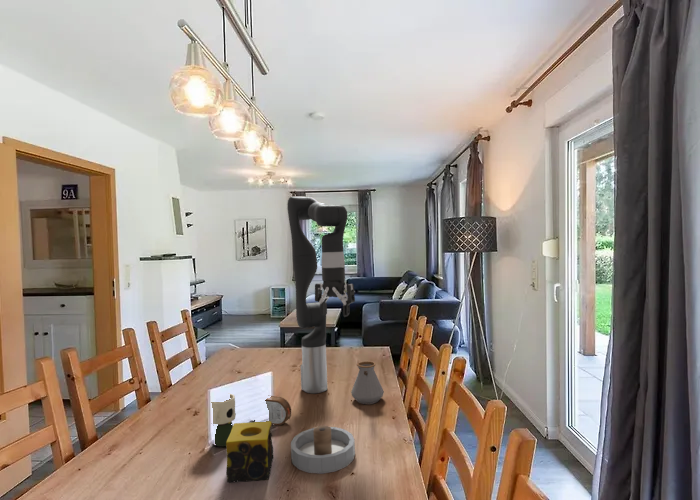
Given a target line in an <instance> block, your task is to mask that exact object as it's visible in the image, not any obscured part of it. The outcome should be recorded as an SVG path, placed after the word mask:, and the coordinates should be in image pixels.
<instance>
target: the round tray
mask: <svg viewBox="0 0 700 500" xmlns="http://www.w3.org/2000/svg"><path fill="white" fill-rule="evenodd" d="M329 427H330V428H331V442H332V453H331V454H327V455H315V454H314V431H313V430H314V428H315V427H312V428H309V429H306V430H303V431H301V432H299V433H298V434H296V435H294V437H293V439H292V440H291V441H290V453H291V457H290V458H291V463H292V465H293V466H294V467H296V468H297V469H298V470H299V471H303V472H305V473H309V474H328V473H333V472H337V471H339V470H342V469H344V468H347V467H348V465H350V464H351V463H352V462H353V461H354V459H355V455H356V447H355V446H356V443H355V438H354V435H353V434H352V433H351V432H349V431H348V430H347V429H344V428H341V427H336V426H329Z"/></svg>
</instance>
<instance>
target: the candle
mask: <svg viewBox="0 0 700 500" xmlns="http://www.w3.org/2000/svg"><path fill="white" fill-rule="evenodd" d="M272 436H273V434H272V424H271V421H266V422H254V421H252V422H237V423H236V422H235V423H233V427H232V430H231V433H230V435H229V437H228V439H227V442H226V446H225V447H226V469H225V470H226V471H225V472H226V474H225V475H226V481H227V483H229V484H230V483H240V482H241V483H243V482H252V481H253V482H254V481H265V480H267V481H268V480H269V478H270V475H271V470H272V465H273V460H274V446H273V440H272V439H273V438H272Z"/></svg>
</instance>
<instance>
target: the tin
mask: <svg viewBox="0 0 700 500" xmlns="http://www.w3.org/2000/svg"><path fill="white" fill-rule="evenodd" d="M270 396H271V397H270V398H267V399H266V400H265V401H266V404H267V408H268V410H269V421H271V425H272V424H274V425H273V426H282V425H284V424H285V423H287V422H288V420H290V419H291V416H292V406H291V405H290V402H289V401H288V400H287V399H285V398H284V397H282V396H277V395H270Z"/></svg>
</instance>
